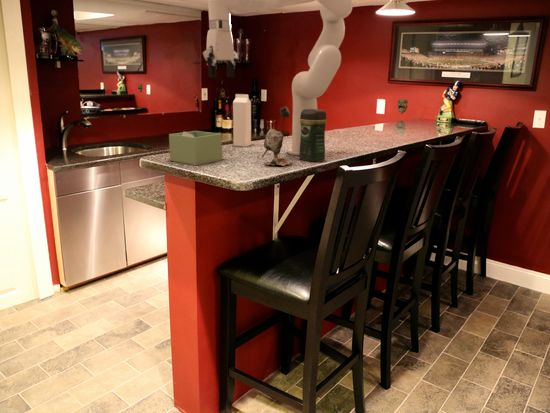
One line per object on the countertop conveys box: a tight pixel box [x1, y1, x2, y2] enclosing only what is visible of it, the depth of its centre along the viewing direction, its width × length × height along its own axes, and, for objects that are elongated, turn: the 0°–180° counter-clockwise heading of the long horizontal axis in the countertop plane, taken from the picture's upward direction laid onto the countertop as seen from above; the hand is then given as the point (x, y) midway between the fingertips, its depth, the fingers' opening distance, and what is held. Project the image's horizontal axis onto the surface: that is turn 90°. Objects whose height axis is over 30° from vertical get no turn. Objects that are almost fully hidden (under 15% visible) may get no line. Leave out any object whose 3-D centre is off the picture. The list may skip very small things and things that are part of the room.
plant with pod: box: [261, 106, 293, 167], centre depth 154 cm, size 8×11×20 cm
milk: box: [232, 93, 252, 147], centre depth 194 cm, size 6×6×22 cm
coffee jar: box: [298, 108, 327, 163], centre depth 163 cm, size 10×8×19 cm
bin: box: [168, 130, 223, 166], centre depth 161 cm, size 13×13×10 cm
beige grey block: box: [182, 131, 194, 137], centre depth 160 cm, size 5×5×4 cm
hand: (221, 77), depth 162 cm, fingers open, 9 cm apart
